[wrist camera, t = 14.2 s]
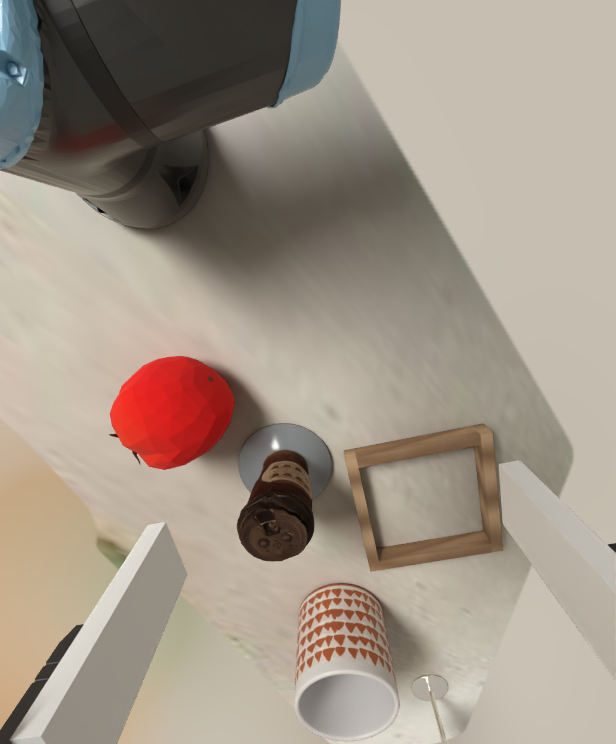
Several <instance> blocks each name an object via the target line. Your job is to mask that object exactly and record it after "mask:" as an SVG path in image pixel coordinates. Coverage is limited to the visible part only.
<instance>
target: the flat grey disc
mask: <svg viewBox="0 0 616 744" xmlns="http://www.w3.org/2000/svg"><path fill="white" fill-rule="evenodd" d="M279 450H291V451H295V452H297V453H298V454H300V455H301V456H302V457H303V458H304V459H305V460H306V462H307V465H308V471H309V475H308V476H309V479H310V482H311V493H312V500H313V499H314V498H316V497H317V496H318V495H319V494H320V493H321V492H322V491H323V490H324V489H325V487H326V486H327V484H328V482H329V479H330V476H331V470H332V469H331V457H330V454H329V451H328V449H327V447H326V445H325V444H324V442H323V441H322V440H321V439H320V438H319V437H318V436H317V435H316V434H315V433H313V432H312V431H310V430H309V429H307V428H305V427H302V426H299V425H295V424H288V423H279V424H273V425H269V426H266V427H264V428H261V429H260V430H258V431H256V432H255V433H254V434H252V435H251V436H250V437H249V438H248V440H247V441H246V442H245V444H244V446H243V448H242V450H241V453H240V456H239V465H238V466H239V473H240V476H241V479H242V481H243V483H244V485H245V486H246V488H247V489H248V490H249V491H250V492H252V489H253V487H254V485H255V483H256V481H257V480H258V479H259V476H260V474H261V471H262V469H263V463H264V461H265V458H266V456H267V455H269V454H271V453H273V452H274V451H279Z"/></svg>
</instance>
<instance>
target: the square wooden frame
mask: <svg viewBox="0 0 616 744" xmlns="http://www.w3.org/2000/svg"><path fill="white" fill-rule="evenodd" d="M473 446H474V449H475V458H476V468H477V477H478V487H479V496H480V505H481V515H482V524H483V531H479V532H473V533H467V534H461V535H455V536H449V537H443V538H437V539H431V540H425V541H419V542H413V543H407V544H401V545H395V546H389V547H383V548H377V549H376V545H375V541H374V536H373V532H372V527H371V522H370V518H369V513H368V509H367V504H366V499H365V495H364V490H363V486H362V481H361V477H360V472H359V468H361V467H367V466H372V465H377V464H383V463H388V462H393V461H399V460H404V459H409V458H415V457H420V456H425V455H430V454H436V453H441V452H446V451H452V450H457V449H462V448H468V447H473ZM344 456H345V462H346V466H347V471H348V475H349V479H350V484H351V488H352V492H353V497H354V501H355V506H356V510H357V514H358V519H359V523H360V527H361V532H362V536H363V540H364V545H365V549H366V554H367V558H368V562H369V567H370V571H378V570H384V569H390V568H396V567H403V566H409V565H415V564H421V563H428V562H434V561H440V560H446V559H452V558H459V557H465V556H471V555H477V554H484V553H490V552H496V551H502V550H503V546H502V534H501V523H500V511H499V500H498V489H497V477H496V466H495V455H494V443H493V432H492V431H491V430H490V429H489V428H487V427H486V426H485V425H484V424H479V425H474V426H469V427H464V428H459V429H453V430H448V431H443V432H438V433H433V434H428V435H422V436H417V437H412V438H407V439H402V440H397V441H391V442H386V443H381V444H376V445H371V446H366V447H360V448H355V449H350V450H345V451H344Z"/></svg>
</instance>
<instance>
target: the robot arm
mask: <svg viewBox="0 0 616 744" xmlns="http://www.w3.org/2000/svg"><path fill="white" fill-rule="evenodd" d="M340 5H341V0H0V171H4V172H7V173H11V174H14V175H17V176H21V177H24V178H27V179H31V180H34V181H38V182H41V183H44V184H48V185H51V186H55V187H58V188H61V189H65V190H68V191H72V192H75V193H76V194H77V195H78V196H80V197H81V198H82V199H83V200H84V201H85V202H86V203H87V204H88V205H89V206H91V207H92V208H93V209H94V210H96V211H97V212H98V213H100V214H101V215H103V216H105V217H107V218H109V219H110V220H113V221H115V222H117V223H120V224H124V225H128V226H132V227H137V228H144V229H152V228H160V227H164V226H167V225H170V224H172V223H174V222H176V221H178V220H179V219H181V218H182V217H184V216H185V215H186V214H187V213H188V212H189V211H190V210H191V209H192V208H193V206H194V205H195V204H196V202H197V201H198V199H199V197H200V195H201V193H202V191H203V188H204V185H205V182H206V178H207V172H208V148H207V142H206V137H205V134H204V129H206V128H209V127H212V126H215V125H217V124H220V123H223V122H226V121H229V120H231V119H234V118H237V117H240V116H242V115H245V114H248V113H251V112H254V111H256V110H259V109H262V108H265V107H268V108H271V109H272V108H276V107H277V106H278V105H280V104H281V103H282V102H283V101H284V100H285V99H288V98H290V97H292V96H295V95H297V94H299V93H302V92H304V91H307V90H309V89H311V88H313V87H315V86H316V85H317V84H318V83H319V82H320V81H321V79H322V78H323V76H324V75H325V74H326V73H327V72H328V70H329V68H330V66H331V63H332V60H333V57H334V53H335V49H336V44H337V38H338V30H339V21H340ZM499 477H500V492H501V506H502V520H503V525H504V527H505V528H506V529H507V531H508V532H509V534H510V535H511V536H512V538H513V539H514V541H515V542H516V543H517V545H518V546H519V547H520V549H521V550H522V552H523V553H524V554H525V556H526V557H527V559H528V560H529V561H530V563H531V564H532V566H533V567H534V568H535V570H536V571H537V573H538V574H539V575H540V577H541V578H542V580H543V581H544V582H545V584H546V585H547V587H548V588H549V589H550V591H551V592H552V594H553V595H554V596H555V598H556V599H557V601H558V602H559V603H560V605H561V606H562V608H563V609H564V610H565V612H566V613H567V615H568V616H569V617H570V619H571V620H572V622H574V624H575V625H576V627H577V629H578V630H579V631H580V633H581V634H582V635H583V637H584V638H585V640H586V641H587V642H588V644H589V645H590V647H591V648H592V649H593V651H594V652H595V653H596V655H597V656H598V658H599V659H600V661H601V662H602V663H603V665H604V666H605V668H606V669H607V670H608V672H609V673H610V675H611V676H612V677H613V679H614V680H615V682H616V543H615V544H608V545H607V544H606V543H605V542H604V541H603V540H602V539H601V538H600V537H599V536H597V535H596V534H595V533H594V532H593V531H592V530H591V529H590V528H589V527H588V526H587V525H586V524H585V523H584V522H583V521H582V520H581V519H580V518H579V517H578V516H577V515H576V514H575V513H574V512H573V511H572V510H571V509H570V508H568V507H567V506H566V505H565V504H564V503H563V502H562V501H561V500H560V499H559V498H558V497H557V496H556V495H555V494H554V493H553V492H552V491H551V490H550V489H549V488H548V487H547V486H546V485H545V484H544V483H543V482H542V481H541V480H540V479H539V478H538V477H536V476H535V475H534V474H533V473H532V472H531V471H530V470H529V469H528V468H527V467H526V466H525V465H524V464H523V463H522V462H521V461H520V460H519V461H514V462H508V463H502V464H499ZM186 576H187V572H186V570H185V567H184V565H183V562H182V560H181V558H180V555H179V553H178V550H177V548H176V546H175V543H174V541H173V538H172V536H171V534H170V531H169V529H168V526H167V524H166V522H163V523H157V524H151V525H148V526H147V527H146V529H145V530H144V532H143V534H142V535H141V537H140V538H139V540H138V541H137V543H136V544H135V546H134V547H133V549H132V551H131V552H130V554H129V555H128V557H127V558H126V560H125V561H124V563H123V565H122V566H121V568H120V569H119V571H118V572H117V574H116V575H115V577H114V579H113V580H112V582H111V583H110V585H109V586H108V588H107V589H106V591H105V593H104V594H103V596H102V597H101V599H100V600H99V602H98V604H97V605H96V607H95V608H94V610H93V611H92V613H91V614H90V616H89V617H88V619H87V621H86V622H85V624H82V625H76V626H75V627H74V628H73V629H72V631H71V632H70V633H69V634H68V635H67V636H66V637H65V638H64V639H63V640H62V641H61V642H60V643H59V644H58V646H57V647H56V649H55V650H54V652H53V653H52V655H51V656H50V658H49V659H48V660H47V662H46V666H44V667H43V668H42V669H41V671H40V672H39V674H38V675H37V677H36V678H35V682H34V683H32V684H31V686H30V687H29V689H28V690H27V691H26V693H25V694H24V696H23V697H22V699H21V700H20V702H19V703H18V705H17V706H16V708H15V709H14V711H13V712H12V714H11V715H10V717H9V718H8V720H7V721H6V722H5V724H4V725H3V727H2V729H1V730H0V744H117V743H118V740H119V738H120V735H121V733H122V731H123V728H124V726H125V723H126V721H127V718H128V716H129V714H130V711H131V709H132V707H133V704H134V702H135V699H136V697H137V695H138V692H139V689H140V687H141V685H142V682H143V680H144V678H145V675H146V673H147V670H148V668H149V665H150V663H151V661H152V658H153V656H154V654H155V651H156V649H157V646H158V644H159V641H160V639H161V637H162V634H163V632H164V629H165V627H166V625H167V622H168V620H169V617H170V615H171V613H172V610H173V608H174V605H175V603H176V601H177V598H178V596H179V593H180V591H181V588H182V586H183V584H184V581H185V579H186Z"/></svg>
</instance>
